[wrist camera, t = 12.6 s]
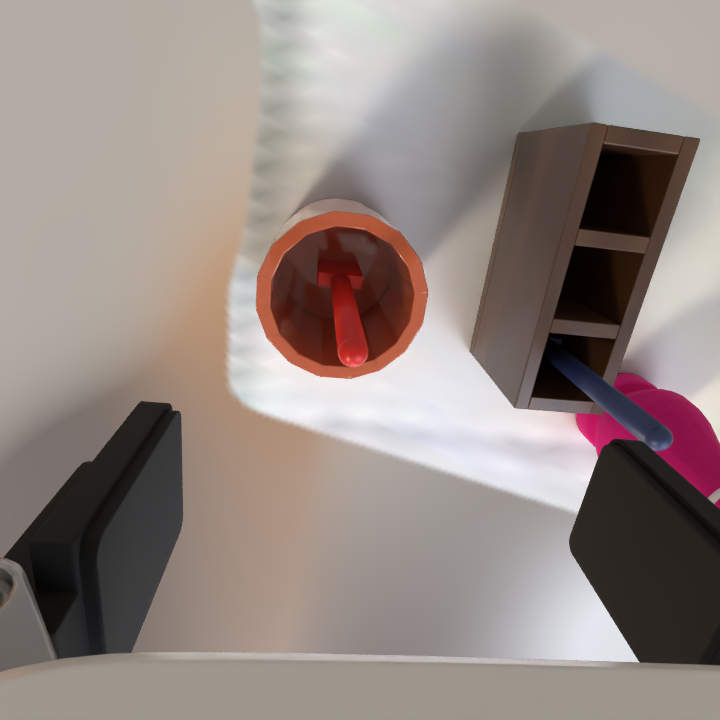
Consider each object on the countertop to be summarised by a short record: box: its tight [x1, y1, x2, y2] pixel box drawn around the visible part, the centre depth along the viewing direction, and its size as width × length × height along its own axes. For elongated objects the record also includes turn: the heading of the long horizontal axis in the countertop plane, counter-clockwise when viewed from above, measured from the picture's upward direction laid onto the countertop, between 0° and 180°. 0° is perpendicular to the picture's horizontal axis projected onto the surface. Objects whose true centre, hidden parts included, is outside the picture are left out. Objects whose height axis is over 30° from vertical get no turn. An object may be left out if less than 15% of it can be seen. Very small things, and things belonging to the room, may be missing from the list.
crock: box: [256, 198, 428, 379], centre depth 28 cm, size 8×8×9 cm
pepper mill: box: [577, 373, 720, 509], centre depth 29 cm, size 7×7×20 cm
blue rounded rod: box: [543, 332, 673, 451], centre depth 26 cm, size 3×1×16 cm, turn 83°
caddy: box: [470, 123, 700, 415], centre depth 29 cm, size 5×15×9 cm, turn 173°
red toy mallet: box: [317, 259, 368, 367], centre depth 24 cm, size 3×1×16 cm, turn 83°
